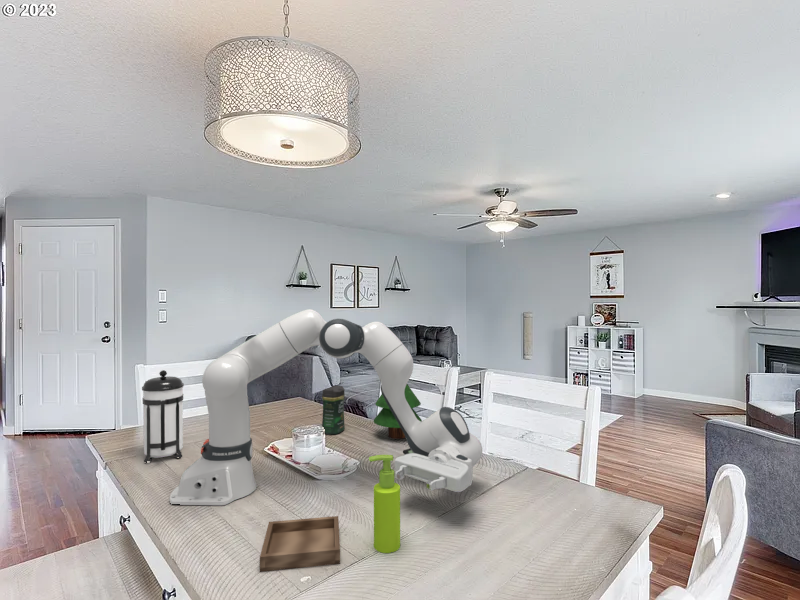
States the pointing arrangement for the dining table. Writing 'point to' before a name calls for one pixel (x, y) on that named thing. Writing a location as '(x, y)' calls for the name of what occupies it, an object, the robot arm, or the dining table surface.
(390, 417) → the decorative tree
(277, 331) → the robot arm
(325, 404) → the coffee jar
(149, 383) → the coffee press
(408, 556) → the dining table surface
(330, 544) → the holder tray
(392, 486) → the soap dispenser
